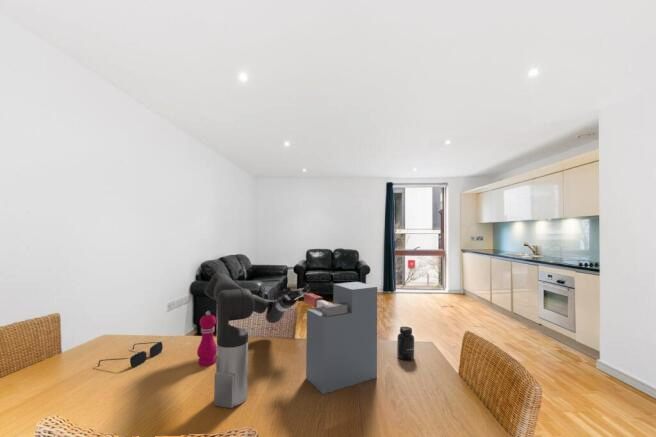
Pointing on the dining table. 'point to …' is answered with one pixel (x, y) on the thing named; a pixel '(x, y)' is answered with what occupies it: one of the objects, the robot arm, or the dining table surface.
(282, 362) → the dining table surface
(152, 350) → the sunglasses
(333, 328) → the stand
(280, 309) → the robot arm
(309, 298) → the grey red bar
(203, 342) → the pepper mill
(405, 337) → the supplement bottle
